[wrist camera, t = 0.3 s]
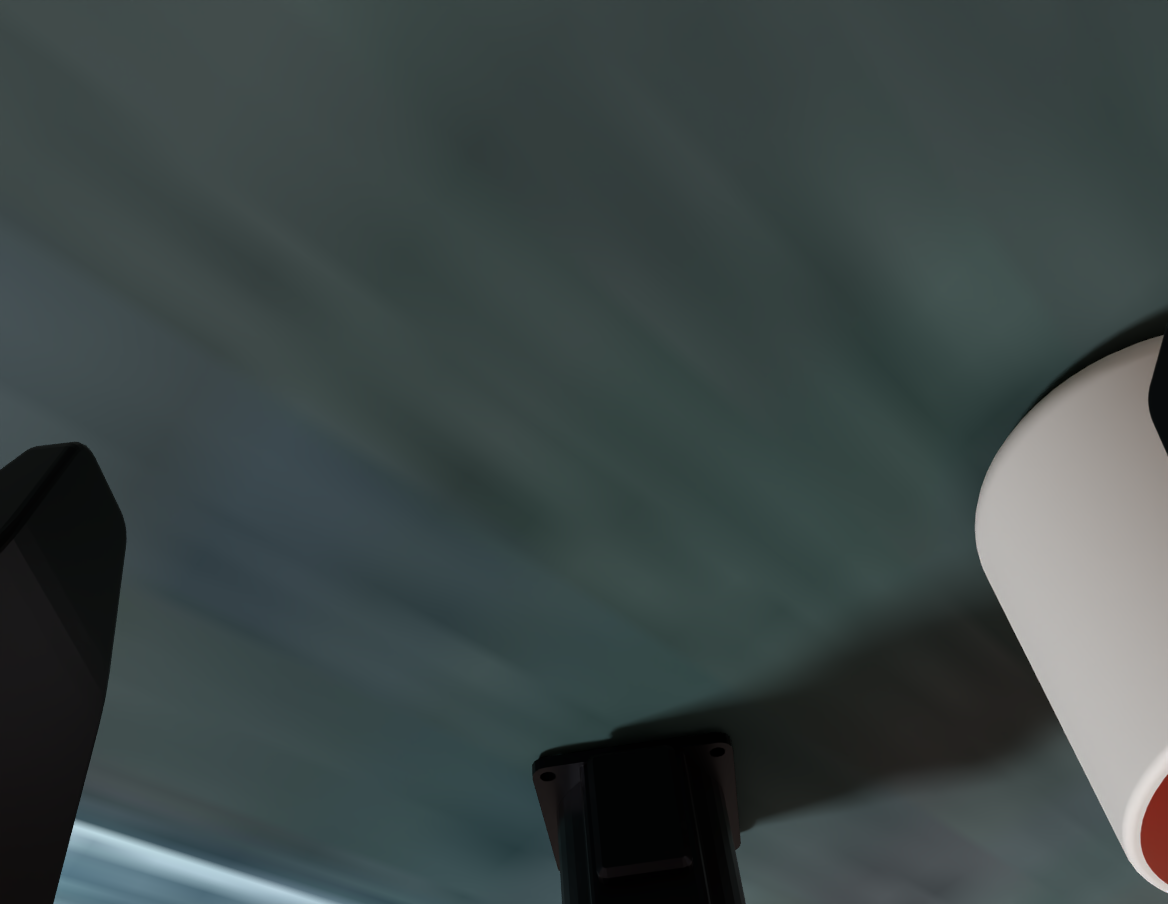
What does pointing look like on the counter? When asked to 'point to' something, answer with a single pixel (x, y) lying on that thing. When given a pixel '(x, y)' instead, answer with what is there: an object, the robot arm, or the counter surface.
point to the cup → (1093, 582)
